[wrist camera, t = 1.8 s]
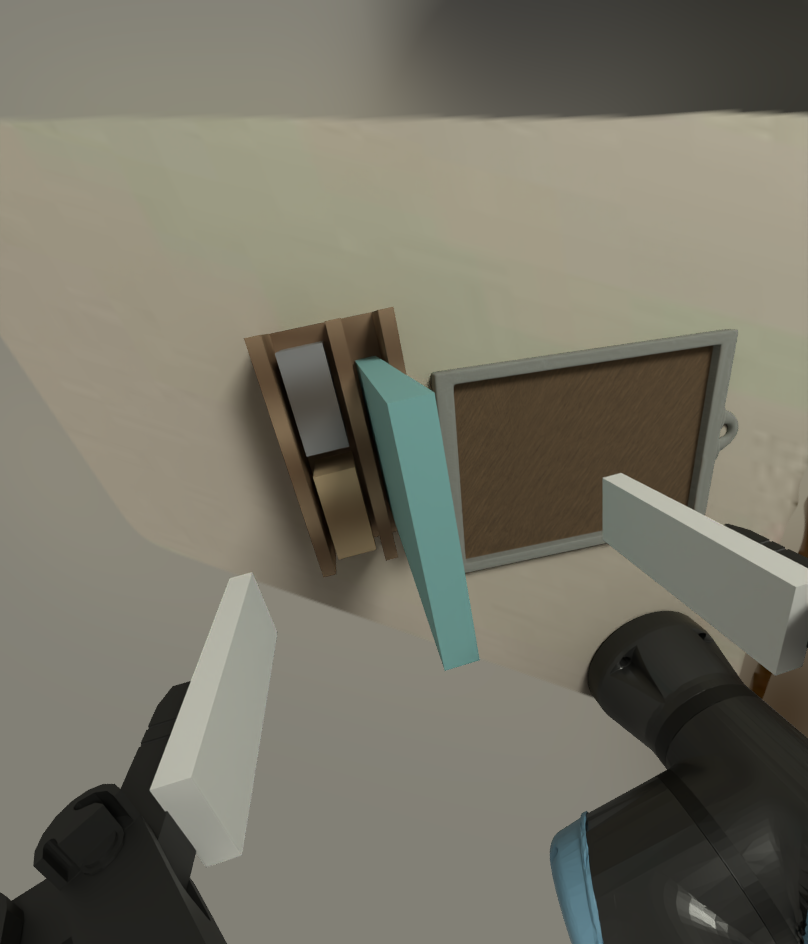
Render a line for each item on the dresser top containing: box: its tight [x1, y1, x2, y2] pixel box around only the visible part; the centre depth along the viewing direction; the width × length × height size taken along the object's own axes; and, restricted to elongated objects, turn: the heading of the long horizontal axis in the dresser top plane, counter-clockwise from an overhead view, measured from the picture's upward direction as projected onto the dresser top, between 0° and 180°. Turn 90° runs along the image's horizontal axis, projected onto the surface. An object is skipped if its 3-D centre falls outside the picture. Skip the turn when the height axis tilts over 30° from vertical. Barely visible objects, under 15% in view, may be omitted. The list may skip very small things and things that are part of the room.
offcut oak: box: [313, 451, 376, 559], centre depth 31 cm, size 7×3×4 cm, turn 12°
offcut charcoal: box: [275, 341, 349, 457], centre depth 28 cm, size 7×3×4 cm, turn 12°
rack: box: [244, 307, 406, 577], centre depth 30 cm, size 18×9×5 cm, turn 12°
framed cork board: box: [431, 329, 738, 573], centre depth 37 cm, size 19×2×30 cm
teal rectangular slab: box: [355, 356, 479, 671], centre depth 23 cm, size 12×2×18 cm, turn 12°
